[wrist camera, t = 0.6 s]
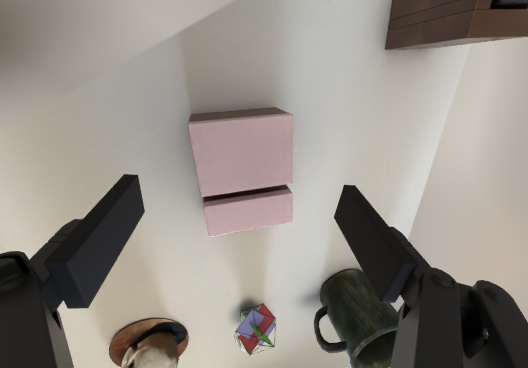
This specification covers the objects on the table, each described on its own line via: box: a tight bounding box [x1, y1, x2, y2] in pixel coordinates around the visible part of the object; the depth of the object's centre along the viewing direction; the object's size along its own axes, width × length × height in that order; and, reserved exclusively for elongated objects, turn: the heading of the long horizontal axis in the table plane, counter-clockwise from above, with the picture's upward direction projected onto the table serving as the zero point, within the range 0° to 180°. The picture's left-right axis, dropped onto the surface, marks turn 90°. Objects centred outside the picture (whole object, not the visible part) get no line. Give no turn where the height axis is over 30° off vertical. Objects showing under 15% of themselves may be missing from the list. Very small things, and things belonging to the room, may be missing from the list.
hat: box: [109, 319, 189, 368], centre depth 38 cm, size 12×10×10 cm
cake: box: [188, 107, 293, 197], centre depth 26 cm, size 8×10×6 cm
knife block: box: [385, 0, 528, 50], centre depth 24 cm, size 5×7×10 cm
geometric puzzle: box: [234, 303, 276, 356], centre depth 39 cm, size 7×7×8 cm
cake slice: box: [203, 184, 292, 237], centre depth 29 cm, size 4×10×6 cm, turn 93°
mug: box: [314, 270, 400, 368], centre depth 40 cm, size 11×15×12 cm
